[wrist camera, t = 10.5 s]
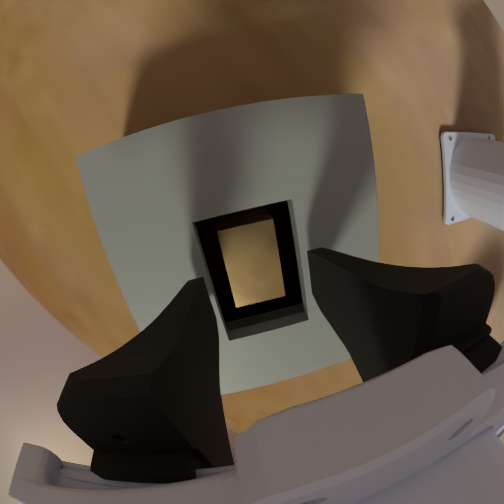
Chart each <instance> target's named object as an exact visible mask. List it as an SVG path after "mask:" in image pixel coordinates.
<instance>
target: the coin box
mask: <svg viewBox="0 0 504 504" xmlns="http://www.w3.org/2000/svg"><path fill="white" fill-rule="evenodd" d="M76 159H77V163H78V167H79V171H80V175H81V179H82V183H83V187H84V190H85V194H86V197H87V201H88V204H89V207H90V210H91V214H92V217H93V220H94V223H95V226H96V229H97V232H98V234H99V237H100V240H101V243H102V245H103V248H104V251H105V253H106V256H107V259H108V261H109V264H110V266H111V269H112V271H113V274H114V276H115V278H116V281H117V283H118V285H119V288H120V290H121V292H122V294H123V297H124V299H125V301H126V303H127V305H128V307H129V309H130V312H131V314H132V316H133V318H134V320H135V322H136V324H137V326H138V328H139V330H140V332H142V331H143V330H144V329H145V328H146V327H147V326H148V325H149V324H151V323H152V322H153V321H154V320H155V319H156V318H157V317H158V315H159V314H160V313H161V312H162V311H163V310H164V309H165V308H166V307H167V305H168V304H169V303H170V302H171V301H172V300H173V298H174V297H175V296H176V295H177V293H178V292H179V291H180V290H181V288H182V287H183V286H184V285H185V283H186V282H187V281H188V280H192V279H196V278H200V277H203V278H204V282H205V285H206V288H207V291H208V294H209V297H210V300H211V303H212V306H213V309H214V312H215V315H216V318H217V325H218V332H219V373H220V391H221V395H223V394H228V393H233V392H238V391H243V390H247V389H252V388H256V387H260V386H264V385H268V384H272V383H276V382H280V381H284V380H287V379H291V378H294V377H298V376H301V375H304V374H308V373H311V372H314V371H317V370H320V369H323V368H326V367H329V366H332V365H335V364H338V363H341V362H344V361H346V360H349V359H352V358H351V356H350V354H349V352H348V351H347V349H346V347H345V346H344V344H343V343H342V341H341V340H340V338H339V337H338V336H337V334H336V333H335V331H334V330H333V328H332V327H331V325H330V324H329V322H328V321H327V320H326V318H325V317H324V315H323V314H322V312H321V311H320V309H319V307H318V305H317V303H316V301H315V299H314V296H313V294H312V289H311V281H310V272H309V264H308V256H307V251H308V250H312V249H316V248H320V247H322V248H327V249H331V250H335V251H338V252H341V253H345V254H348V255H351V256H355V257H358V258H362V259H366V260H370V261H374V262H378V263H379V217H378V200H377V187H376V176H375V166H374V158H373V150H372V143H371V136H370V130H369V124H368V118H367V112H366V107H365V102H364V97H363V94H333V95H317V96H304V97H294V98H285V99H277V100H270V101H263V102H256V103H250V104H245V105H239V106H234V107H229V108H224V109H219V110H214V111H210V112H206V113H201V114H197V115H193V116H189V117H186V118H182V119H178V120H175V121H171V122H168V123H164V124H161V125H158V126H155V127H151V128H148V129H145V130H142V131H139V132H136V133H133V134H131V135H128V136H125V137H122V138H120V139H117V140H114V141H112V142H109V143H107V144H104V145H102V146H99V147H97V148H94V149H92V150H90V151H87V152H85V153H83V154H81V155H78V156H76ZM285 200H287V201H288V207H289V213H290V219H291V225H292V231H293V237H294V244H295V250H296V257H297V264H298V271H299V278H300V285H301V293H302V301H303V303H300V304H297V305H293V306H289V307H286V308H282V309H278V310H275V311H271V312H267V313H263V314H259V315H255V316H251V317H247V318H243V319H239V320H235V321H231V322H226V323H225V321H224V318H223V315H222V312H221V309H220V306H219V302H218V299H217V296H216V293H215V290H214V286H213V283H212V280H211V277H210V273H209V270H208V267H207V263H206V260H205V257H204V253H203V250H202V246H201V243H200V239H199V236H198V232H197V229H196V225H195V222H197V221H201V220H205V219H209V218H213V217H217V216H221V215H225V214H229V213H233V212H237V211H241V210H245V209H250V208H254V207H258V206H263V205H267V204H272V203H276V202H281V201H285Z"/></svg>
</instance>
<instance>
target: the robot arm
mask: <svg viewBox="0 0 504 504" xmlns="http://www.w3.org/2000/svg"><path fill="white" fill-rule="evenodd" d="M441 147H442V160H443V179H444V217H443V220H444V223H445V224H447V225H450V224H453V223H456V222H459V221H462V220H465V219H468V218H471V217H473V218H475V219H477V220H480V221H482V222H484V223H487V224H489V225H491V226H493V227H496V228H498V229H500V230H502V231H504V142H503V141H496V140H495V136H494V134H487V133H472V132H442V133H441ZM307 256H308V264H309V272H310V281H311V289H312V294H313V296H314V299H315V301H316V303H317V305H318V307H319V309H320V311H321V312H322V314H323V315H324V317H325V318H326V320H327V321H328V322H329V324H330V325H331V327H332V328H333V330H334V331H335V333H336V334H337V336H338V337H339V338H340V340H341V341H342V343H343V344H344V346H345V347H346V349H347V351H348V352H349V354H350V356H351V358H352V360H353V362H354V364H355V366H356V368H357V370H358V372H359V374H360V376H361V378H362V381H363V383H361V384H358V385H356V386H353V387H351V388H348V389H345V390H343V391H340V392H337V393H334V394H331V395H329V396H326V397H323V398H320V399H317V400H313V401H310V402H307V403H304V404H300V405H297V406H293V407H290V408H287V409H285V410H283V411H280V412H278V413H275V414H273V415H270V416H267V417H265V418H262V419H260V420H257V421H256V422H255V423H254V424H253V425H251V426H250V427H249V428H248V429H247V430H245V431H244V432H243V433H242V434H240V435H239V436H238V437H237V438H236V439H235V440H234V442H233V445H234V446H233V455H234V461H233V457H232V453H231V448H230V443H229V439H228V434H227V428H226V423H225V417H224V411H223V405H222V398H221V391H220V373H219V332H218V325H217V318H216V315H215V312H214V309H213V306H212V303H211V300H210V297H209V294H208V291H207V288H206V285H205V282H204V278H203V277H200V278H196V279H192V280H188V281H187V282H186V283H185V285H184V286H183V287H182V288H181V290H180V291H179V292H178V293H177V295H176V296H175V297H174V298H173V300H172V301H171V302H170V303H169V304H168V305H167V307H166V308H165V309H164V310H163V311H162V312H161V313H160V314H159V315H158V317H157V318H156V319H155V320H154V321H153V322H152V323H151V324H149V325H148V326H147V327H146V328H145V329H144V330H143V331H142V332H140V333H139V334H138V335H137V336H135V337H134V338H133V339H131V340H130V341H129V342H127V343H126V344H124V345H123V346H122V347H120V348H119V349H117V350H116V351H114V352H112V353H111V354H109V355H107V356H106V357H104V358H102V359H100V360H98V361H96V362H95V363H92V364H90V365H88V366H86V367H84V368H81V369H79V370H77V371H75V372H72V373H70V374H69V376H68V379H67V381H66V384H65V386H64V388H63V390H62V393H61V395H60V398H59V401H58V403H57V409H58V412H59V414H60V416H61V418H62V420H63V421H64V423H65V424H66V425H67V426H68V427H69V428H70V429H71V430H72V431H73V432H74V433H75V434H76V435H77V436H78V437H80V438H81V439H82V440H83V441H84V442H85V443H86V444H87V445H89V446H90V447H91V448H92V449H93V450H94V452H93V457H92V462H91V466H87V465H81V464H75V463H70V462H65V461H61V460H60V458H59V457H58V456H56V455H55V454H54V453H52V452H51V451H50V450H48V449H46V448H43V447H40V446H36V445H32V444H29V443H23V446H22V449H21V452H20V455H19V458H18V461H17V464H16V468H15V471H14V474H13V478H12V482H11V485H10V490H9V496H10V497H12V498H13V499H15V500H16V501H18V502H20V503H21V504H504V444H503V443H502V441H501V440H500V439H499V437H498V436H497V435H498V434H499V433H500V432H501V431H502V430H503V429H504V341H503V342H502V343H501V344H499V343H498V342H497V341H496V340H494V339H493V338H492V337H491V336H490V335H489V334H490V333H491V327H490V326H489V325H487V324H486V320H487V317H488V314H489V311H490V307H491V304H492V301H493V296H494V291H495V282H494V278H493V275H492V274H491V272H490V271H488V270H487V269H485V268H483V267H482V266H480V265H478V264H469V265H462V266H454V267H439V268H420V267H404V266H396V265H390V264H383V263H378V262H374V261H370V260H366V259H362V258H358V257H355V256H351V255H348V254H345V253H341V252H338V251H335V250H331V249H327V248H322V247H320V248H316V249H312V250H308V251H307ZM234 463H235V465H234Z"/></svg>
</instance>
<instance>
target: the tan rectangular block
mask: <svg viewBox="0 0 504 504" xmlns="http://www.w3.org/2000/svg"><path fill="white" fill-rule="evenodd" d="M216 225H217V233H218V238H219V242H220V246H221V250H222V254H223V258H224V262H225V266H226V270H227V274H228V278H229V282H230V286H231V290H232V294H233V297H234V301H235V305H236V308H237V307H241V306H246V305H250V304H254V303H258V302H262V301H267V300H271V299H275V298H279V297H283V296H285V290H284V284H283V277H282V271H281V264H280V258H279V252H278V245H277V239H276V233H275V227H274V221H273V218H272V217H271V216H270V215H269V214H268V212H267V211H266V210H265V209H264V208H263V207H262V206H258V207H254V208H250V209H245V210H241V211H237V212H233V213H229V214H225V215H221V216H217V217H216Z"/></svg>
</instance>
